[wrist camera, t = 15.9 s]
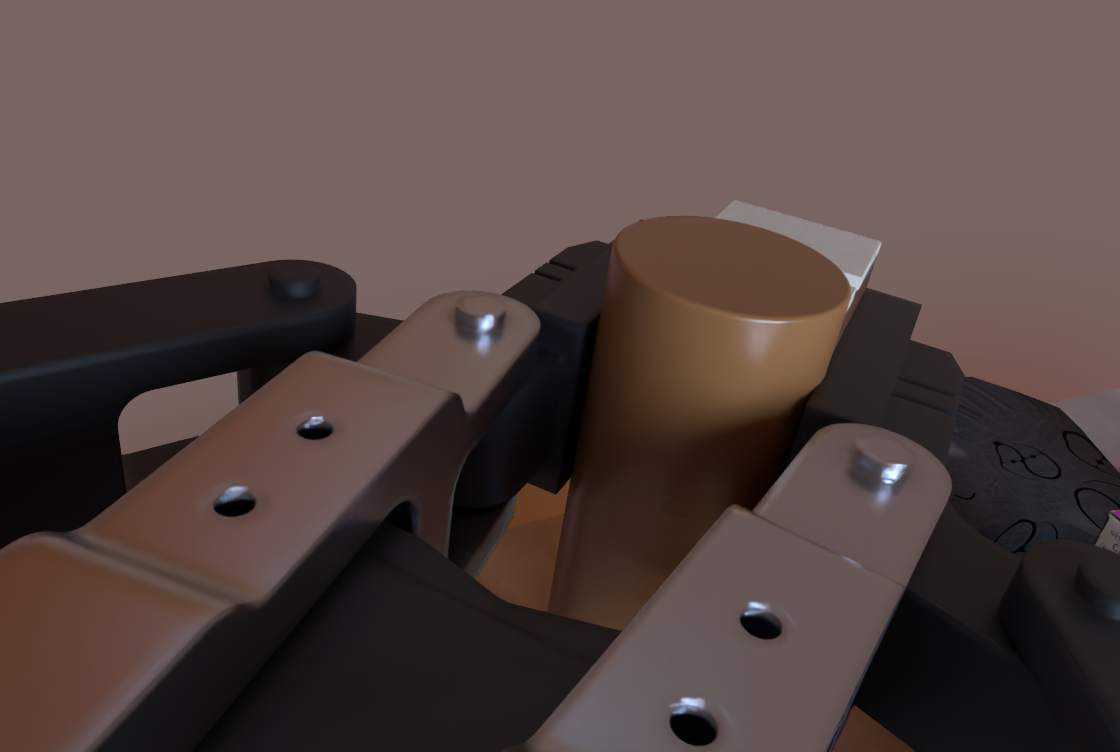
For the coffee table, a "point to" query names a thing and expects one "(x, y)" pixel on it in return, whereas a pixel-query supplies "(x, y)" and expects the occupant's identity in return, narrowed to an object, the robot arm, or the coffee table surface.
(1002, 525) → the mask
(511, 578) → the coffee table surface
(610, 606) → the cake cutter
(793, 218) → the cake slice
